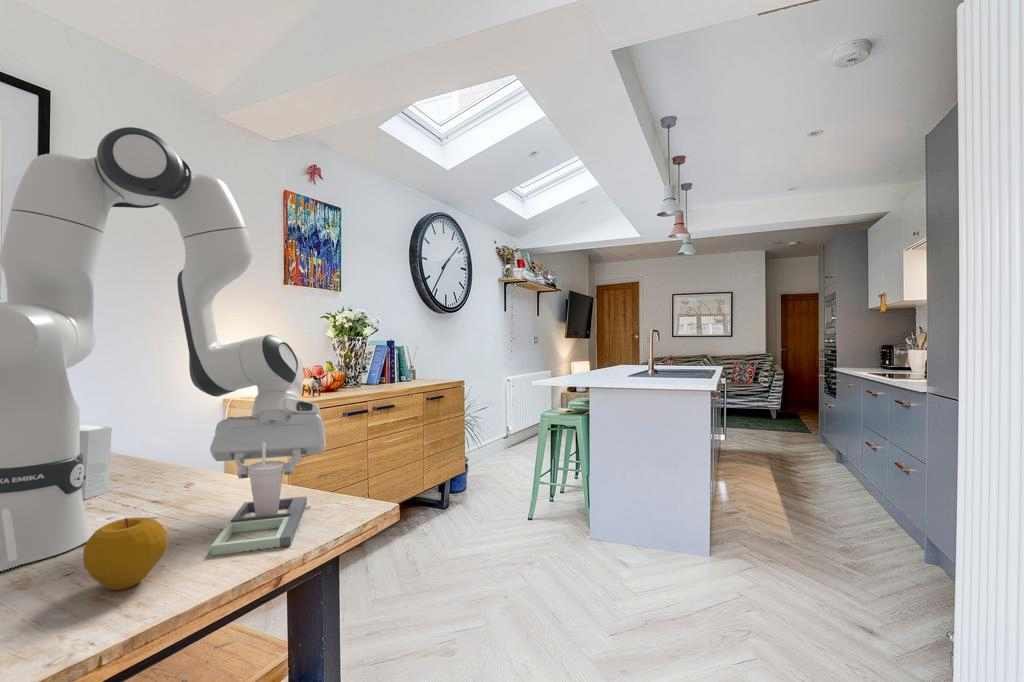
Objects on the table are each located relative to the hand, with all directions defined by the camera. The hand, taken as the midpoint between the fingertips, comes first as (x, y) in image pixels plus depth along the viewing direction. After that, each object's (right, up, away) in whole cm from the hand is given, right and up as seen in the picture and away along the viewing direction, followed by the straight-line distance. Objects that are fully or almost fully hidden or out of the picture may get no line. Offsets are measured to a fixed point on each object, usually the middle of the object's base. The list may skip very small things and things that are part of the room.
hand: (265, 475), depth 87 cm
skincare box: (-47, -8, +13) cm, 50 cm away
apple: (-6, -8, -24) cm, 26 cm away
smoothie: (0, -8, +1) cm, 8 cm away
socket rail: (+2, -8, -5) cm, 9 cm away
